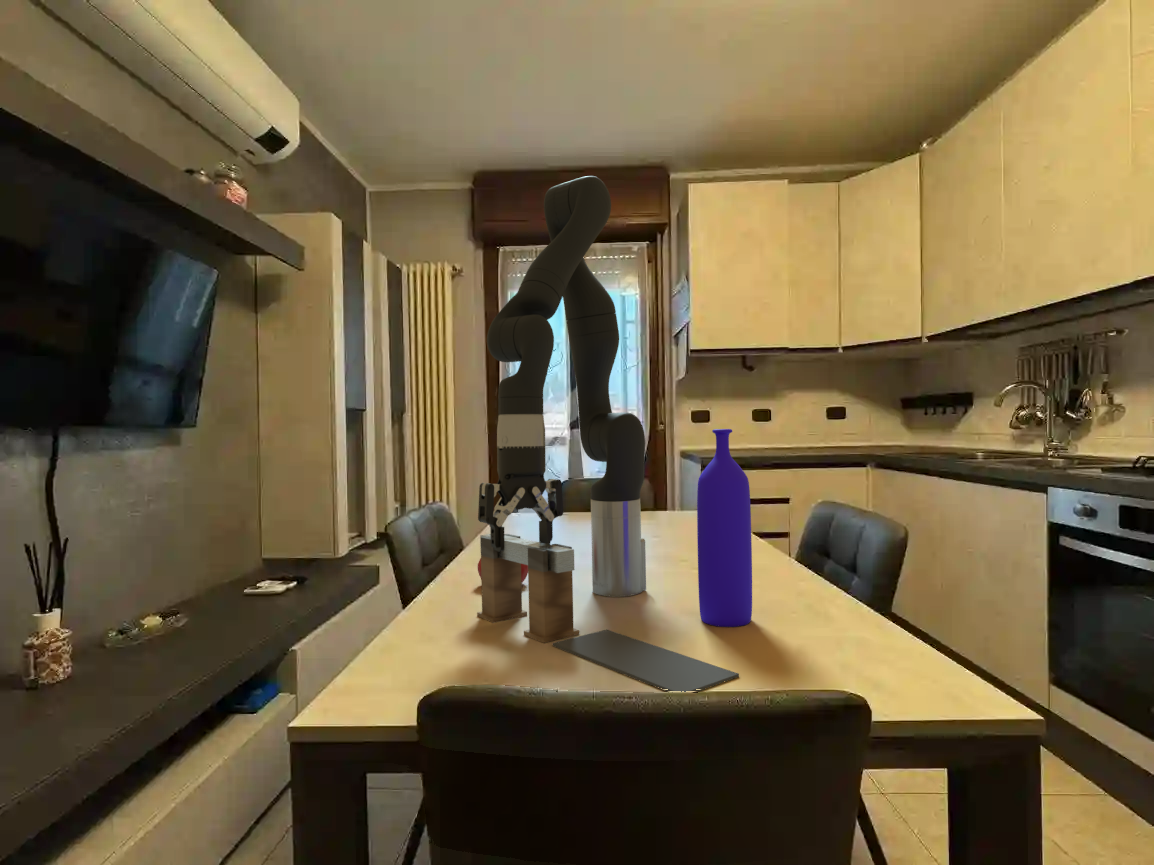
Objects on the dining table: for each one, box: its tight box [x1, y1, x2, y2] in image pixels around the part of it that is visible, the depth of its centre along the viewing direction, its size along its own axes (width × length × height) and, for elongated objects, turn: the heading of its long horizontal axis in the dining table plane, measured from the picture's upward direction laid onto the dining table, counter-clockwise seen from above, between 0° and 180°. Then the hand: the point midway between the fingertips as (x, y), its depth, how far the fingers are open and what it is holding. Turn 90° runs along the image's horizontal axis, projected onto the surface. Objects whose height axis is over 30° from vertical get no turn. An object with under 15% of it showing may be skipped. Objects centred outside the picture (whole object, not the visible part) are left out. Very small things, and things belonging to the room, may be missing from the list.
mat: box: [552, 629, 740, 692], centre depth 93 cm, size 10×25×1 cm, turn 38°
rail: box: [479, 533, 575, 573], centre depth 111 cm, size 3×22×3 cm, turn 38°
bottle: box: [696, 428, 753, 628], centre depth 111 cm, size 8×8×30 cm
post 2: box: [523, 543, 580, 644], centre depth 105 cm, size 6×5×13 cm
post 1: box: [476, 533, 528, 623], centre depth 116 cm, size 6×5×13 cm
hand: (522, 547), depth 111 cm, fingers open, 8 cm apart
